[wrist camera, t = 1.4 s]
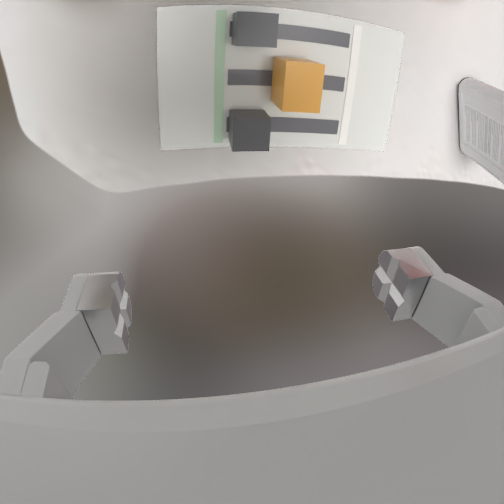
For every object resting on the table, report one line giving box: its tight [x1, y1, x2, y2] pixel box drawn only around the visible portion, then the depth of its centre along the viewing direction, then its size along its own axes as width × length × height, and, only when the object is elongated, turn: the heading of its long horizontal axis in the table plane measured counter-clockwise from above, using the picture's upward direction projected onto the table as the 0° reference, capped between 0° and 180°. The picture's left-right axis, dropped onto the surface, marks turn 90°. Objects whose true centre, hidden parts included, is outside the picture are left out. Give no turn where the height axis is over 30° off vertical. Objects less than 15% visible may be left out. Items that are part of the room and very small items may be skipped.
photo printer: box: [459, 78, 504, 184], centre depth 26 cm, size 10×4×12 cm, turn 19°
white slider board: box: [157, 5, 405, 152], centre depth 24 cm, size 22×13×5 cm, turn 87°
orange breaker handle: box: [271, 56, 325, 114], centre depth 23 cm, size 3×4×4 cm
